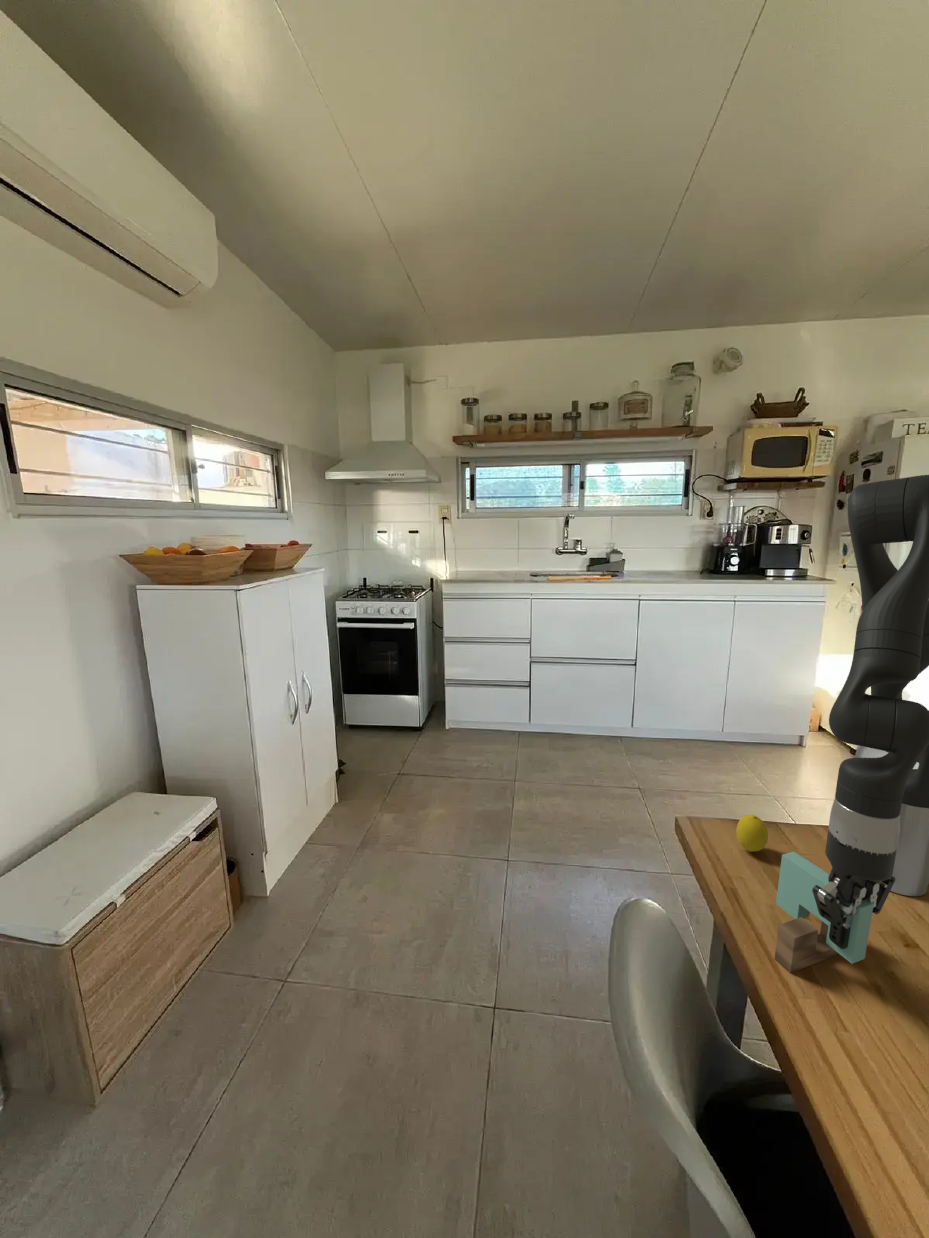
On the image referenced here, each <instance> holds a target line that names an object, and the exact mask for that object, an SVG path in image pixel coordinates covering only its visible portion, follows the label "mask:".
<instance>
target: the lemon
mask: <svg viewBox="0 0 929 1238" xmlns="http://www.w3.org/2000/svg"><path fill="white" fill-rule="evenodd" d="M735 831H736V835H735V836H736V838H737V841H738V843H739V844H740V845H741V847H743V848H744V849H745V850H747V851H748V852H750V853H752V852H759V851H762V850H763V849H765V847H766V845H767V843H768V841H769V840H768V839H769V832H768V828H767V825H766V823H765V822H764V821H763V820H762V819H761V818H760V817H759V816H756V815H755V814H750V815H749V814H748V815H745V816H743V817H741V818H740V819H739V820H738V823H737V825H736V829H735Z"/></svg>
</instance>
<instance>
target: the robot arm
mask: <svg viewBox="0 0 929 1238" xmlns="http://www.w3.org/2000/svg"><path fill="white" fill-rule="evenodd" d="M847 502H848V503H847V520H848V521H847V522H848V527H849V533H850V539H851V544H852V549H853V553H854V558H855V562H856V563H855V564H856V569H857V574H858V579H859V585H860V593H861V594H860V595H861V605H862V606H861V607H862V608H861V609H862V612H861V613H860V616H859V618H858V621H857V623H856V624H857V625H856V632H855V640H854V647H853V654H852V655H853V656H852V660H851V665H850V670H849V671H848V672H849V673H848V675H847V677H846V681H844V682H845V683H844V684H843V687H842V688H841V691H840V692H839V694H838V696H837V698H836V699H835V701H834V703H833V705H832V707H831V709H830V713H829V716H828V725H829V729H830V731H831V733H832V734H833V736H834V737H835V738H836V739H837V740H838V741H840V742H841V743H846V744H849V745H853V746H859V747H864V748H869V749H872V750H873V749H874V750H879V751H882V752H883V751H884V752H885V753H887V754H885V755H883V756H878V757H849V758H846V759H844V760H843V761H842V762H841V763H840V765H839V767H838V773H837V780H836V787H835V794H834V800H833V803H832V805H831V809H830V813H829V822H828V829H827V835H826V843H825V850H824V851H825V852H824V854H825V856H826V858H827V860H828V861H829V863H830V865H831V871H830V873H829V877H828V881H829V883H828V884H827V885H826V886H824V887H823V888H821V887H819V886H818V885H815V886H814V887H813V889H812V892H813V895H814V898H815V901H816V904H817V908H818V911H819V914H820V916H822V917H823V918H825V919H826V920H828V921H829V922H830V923H831V924H830V931H829V932H830V933H829V939H830V940H831V941H832V942H833V943H834V944H836V945H837V946H838V947H839V948H841V949H845V948H847V947H848V941H849V935H850V928H851V927H850V926H851V922H852V918H853V915H855V914H858V908H859V907H860V905H861V901H862V900H865V899H867V901H868V902H869V903H873V904H874V905H873V911H872V914H875V915H879V914H880V912H881V911H882V909H883V907H884V904H885V903H886V900H887V898H888V896H889V895H890V892H892V893H895V894H898V895H902V896H906V897H907V896H908V897H920V896H923V895H925V894H926V893H927V891H928V887H929V886H928V885H929V709H928V708H927V707H926V706H924V705H923V704H922V703H919V702H917V701H916V702H915V701H913V700H907V699H906V700H905V699H903V691H904V690H905V688H906V687H907V686H908V685H909V683H911V682H912V681H914V680H916V679H917V677H918V676H919V675H920V674H921V673H922V672H923V671H925V669H928V667H929V474H921V475H915V476H914V475H913V476H910V477H909V476H908V477H902V478H901V477H900V478H894V479H888V480H887V479H886V480H879V481H873V482H867V483H863V484H859V485H857V486H855V487H854V488H853V489H852V490H851V492H850V494H849V496H848V499H847ZM906 542H908V543H909V542H912V545H911V548H910V550H909V553H908V555H907V557H906V559H905V560H904V561H903V563H902V565H901V566H900V568H897V567H896V566H895V565H894V563H893V562H892V560H891V558H890V557H889V554H888V552H887V550H886V547H885V545H884V544H893V543H894V544H895V543H906ZM868 689H870V694H868V693H866V691H867V690H868ZM917 763H918V767H917V768H915V766H916V764H917ZM841 899H842V900H841ZM847 903H848V904H847ZM849 904H850V905H849ZM839 908H840V909H842V910H843V911H844V916H843V915H841V914H840V911H839Z"/></svg>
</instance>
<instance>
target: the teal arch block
mask: <svg viewBox="0 0 929 1238" xmlns="http://www.w3.org/2000/svg"><path fill="white" fill-rule="evenodd" d="M779 868H780V869H779V874H778V876H779V877H778V885H777V893H776V899H775V900H776V901H775V904H776V906H778V907H779V908H781V909H782V910H783V911H784V912H785V913H787V914H788V915H789V916H791V917H792V918H793V920H794V919H797V918H800V917H802V918H804V919H806V918H809V917H810V913H811V914H812V915H813V916H814V917H816V918H817V919H819V921H821V922H822V921H823V922H824V923H825V924H827V925H828V933H827V940H826V944H827V945H829V946H830V947H831V948H832V949H834V950H835V951H836V952H837V953H839V954H838V955H840V956H841V957H842V958H844V959H845V960H846V961H848V962H849V963H850V964H852V965H853V964H855V963H858V962H860V961H862V960H865V959H866V954H867V953H866V952H867V947H868V942H869V936H870V935H869V934H870V928H871V923H872V922H871V921H872V917H873V916H872V915H873V913H872V911H873V905H874V904H873V903H869V902H868V901H867V899H865V900H862V901H861V905H860V907H859V908H858V914H855V915H853V918H852V922H851V926H850V927H851V928H850V935H849V941H848V947H847V948H845V949H841V948H839V947H838V946H837V945H836V944H834V943H833V942H832V941H831V940H830V939H829V933H830V932H829V931H830V924H831V923H830V922H829V921H828V920H826V919H825V918H823V917H822V916H820V914H819V911H818V908H817V904H816V901H815V898H814V895H813V892H812V889H813V887H814V886H815V885H818V886H819V887H821V888H823V887H824V886H826V885H827V884H828V883H829V881H828V877H829V875H830V873H828V872H826V871H824V870H823V869H821V868H820V867H818V866H817V865H815V864H814V863H813V862H810V861H809V860H808V859H806V858H805V857H803V856H802V855H800V854H798V853H797V852H795V851H791V852H787V853H784V854H783V853H782V854H781V861H780V867H779ZM841 900H842V899H841ZM847 904H848V903H847ZM849 905H850V904H849ZM839 911H840V914H841V915H843V916H844V911H843V910H842V909H840V908H839Z"/></svg>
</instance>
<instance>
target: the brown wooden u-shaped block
mask: <svg viewBox="0 0 929 1238" xmlns="http://www.w3.org/2000/svg"><path fill="white" fill-rule="evenodd" d="M820 923H821V924H820V931H819V929H818V928H817V927H815V926H814V925H813V924H811V923H810V922H809V921H808V920H806V918H802V917H800V918H797V919H794V918H793V919H792V920H789V921H785V922H784V923H780V924H778V928H777V935H776V944H775V945H776V946H775V953H774V960H775V961H777V963H778V964H780V965H781V967H783V968H784V969H785V970H786V971H787V972H788V973H789V974H792V973H794V972H797V971H799V970H802V969H804V968H807V967H810V966H812V965H815V964H817V963H820V962H823V961H825V960H827V959H830V958H833V957H834V956H837V955H840V954H839V953H837V952H836V951H835V950H834V949H832V948H831V947H830V946H829V945H827V944H826V940H827V933H828V925H827V924H825V923H824V922H823V921H821V922H820ZM818 933H819V934H818Z"/></svg>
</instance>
